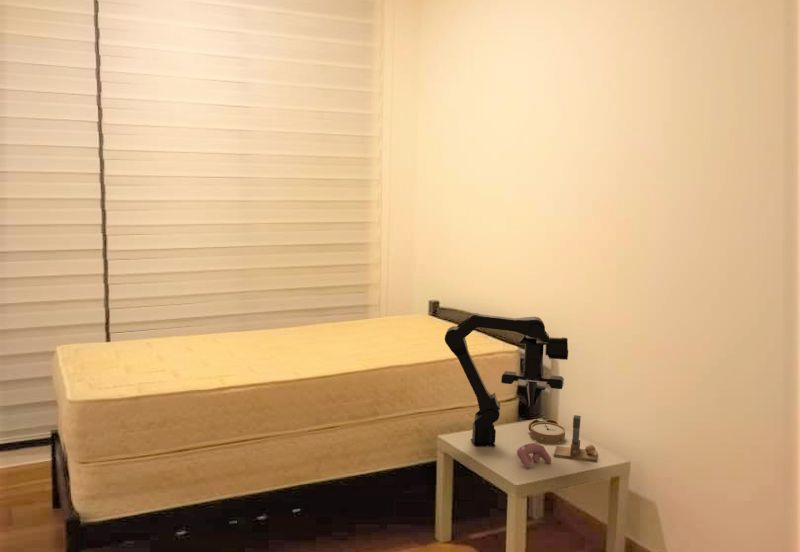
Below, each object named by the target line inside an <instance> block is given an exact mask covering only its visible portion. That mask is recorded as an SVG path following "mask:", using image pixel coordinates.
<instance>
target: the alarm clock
mask: <svg viewBox="0 0 800 552" xmlns="http://www.w3.org/2000/svg"><path fill="white" fill-rule="evenodd" d="M528 431H529V433H530V434H529V436H530V438H531V439H532V440H533V439H534V440H533V441H535V440H536V441H535V442H538V441H539V443H542V442H543V443H544V444H559V442H560V443H563V442H564V441H565V440H564V439H566V428H564V426H563V425H560V424H559V423H558V422H557V421H556V420H555V419H548V420H547V421H546V420H539V419H532V420H530V422H529V423H528ZM562 441H563V442H562ZM543 443H542V444H543Z"/></svg>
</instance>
